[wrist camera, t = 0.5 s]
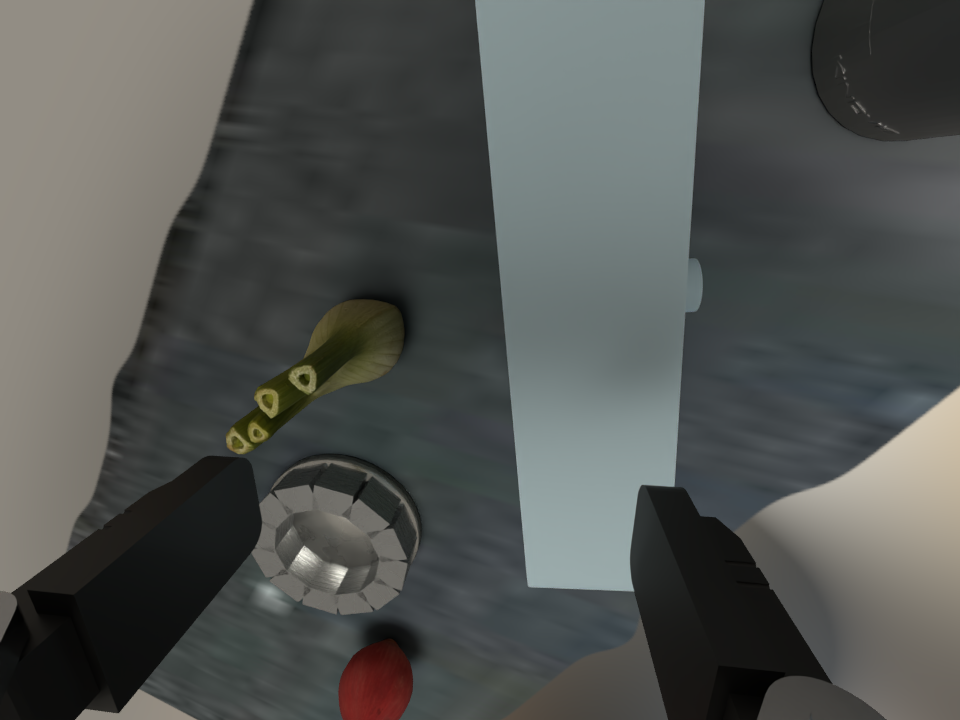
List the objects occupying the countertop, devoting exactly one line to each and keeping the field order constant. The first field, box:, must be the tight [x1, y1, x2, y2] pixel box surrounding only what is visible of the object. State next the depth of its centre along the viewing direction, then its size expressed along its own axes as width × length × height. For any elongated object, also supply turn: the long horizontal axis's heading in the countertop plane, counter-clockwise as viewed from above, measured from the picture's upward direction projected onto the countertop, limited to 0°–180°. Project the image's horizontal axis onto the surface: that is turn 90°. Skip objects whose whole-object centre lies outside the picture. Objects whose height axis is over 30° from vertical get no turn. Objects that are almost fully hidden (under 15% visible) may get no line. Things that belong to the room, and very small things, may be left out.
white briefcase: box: [475, 0, 705, 591], centre depth 18 cm, size 23×6×13 cm, turn 6°
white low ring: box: [251, 454, 422, 615], centre depth 33 cm, size 12×12×4 cm
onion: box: [338, 639, 413, 720], centre depth 35 cm, size 6×6×8 cm
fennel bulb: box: [226, 299, 405, 454], centre depth 23 cm, size 6×5×12 cm
